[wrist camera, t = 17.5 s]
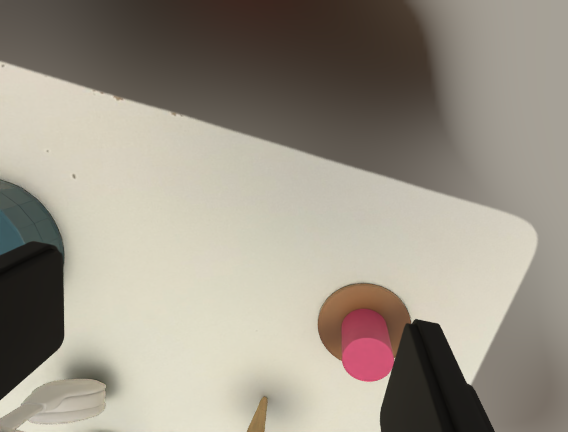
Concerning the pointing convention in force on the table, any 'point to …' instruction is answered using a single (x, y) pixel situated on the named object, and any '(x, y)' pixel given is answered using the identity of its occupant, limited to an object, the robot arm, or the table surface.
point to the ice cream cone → (259, 417)
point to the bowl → (24, 220)
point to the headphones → (59, 403)
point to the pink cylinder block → (366, 345)
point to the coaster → (361, 299)
